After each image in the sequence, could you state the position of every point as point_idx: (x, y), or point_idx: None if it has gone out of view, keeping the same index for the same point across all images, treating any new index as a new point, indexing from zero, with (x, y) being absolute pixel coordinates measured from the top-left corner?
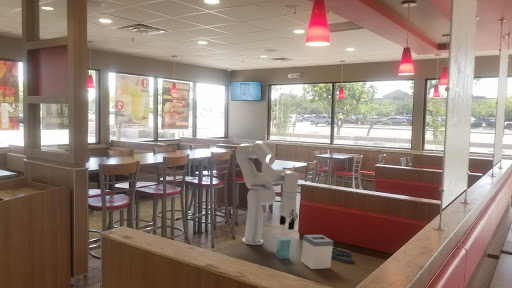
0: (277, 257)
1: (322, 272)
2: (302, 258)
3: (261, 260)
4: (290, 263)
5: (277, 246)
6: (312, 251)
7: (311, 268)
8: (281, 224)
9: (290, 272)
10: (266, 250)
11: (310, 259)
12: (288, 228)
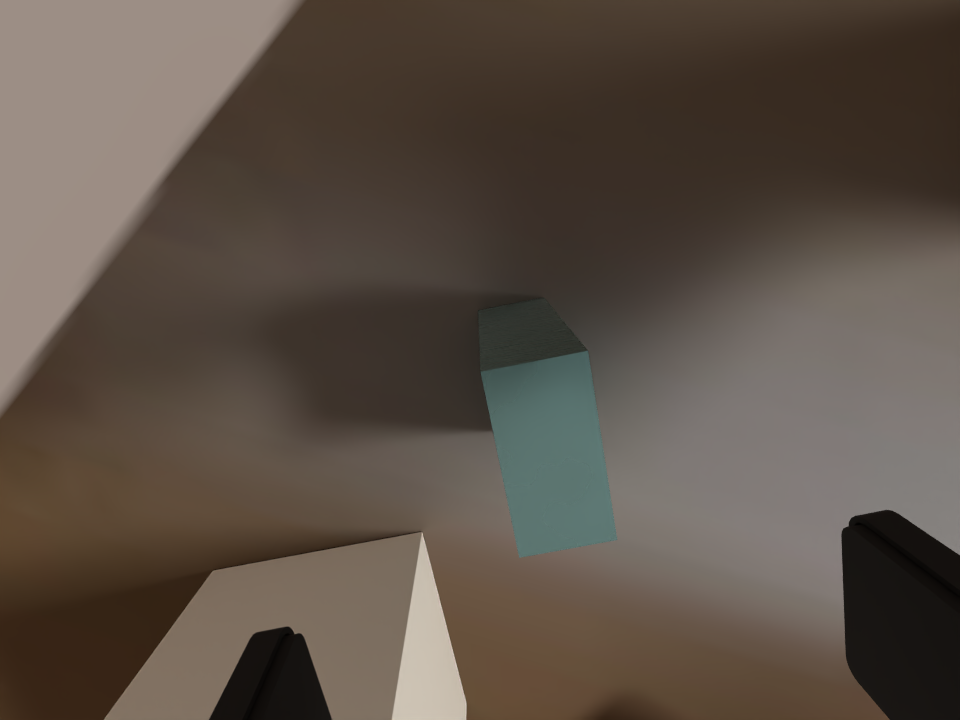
0: (511, 304)
1: (148, 637)
2: (390, 560)
3: (401, 63)
4: (344, 405)
5: (560, 322)
6: (133, 716)
7: (218, 572)
8: (846, 564)
9: (71, 328)
10: (772, 230)
11: (215, 621)
12: (245, 648)
